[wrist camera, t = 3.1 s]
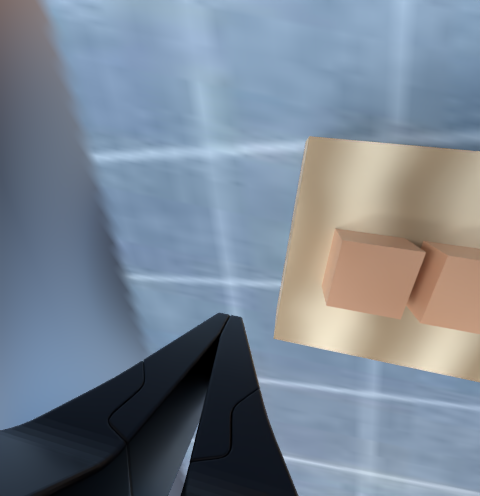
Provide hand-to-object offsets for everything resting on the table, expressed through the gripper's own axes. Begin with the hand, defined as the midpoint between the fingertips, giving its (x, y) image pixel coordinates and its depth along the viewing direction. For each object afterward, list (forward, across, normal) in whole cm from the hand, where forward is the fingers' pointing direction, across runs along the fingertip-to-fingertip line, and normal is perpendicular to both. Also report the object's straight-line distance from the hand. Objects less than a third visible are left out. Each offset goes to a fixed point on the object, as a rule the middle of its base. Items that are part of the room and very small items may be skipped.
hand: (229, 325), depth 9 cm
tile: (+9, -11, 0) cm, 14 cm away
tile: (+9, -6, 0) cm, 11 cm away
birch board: (+13, -9, 0) cm, 16 cm away
